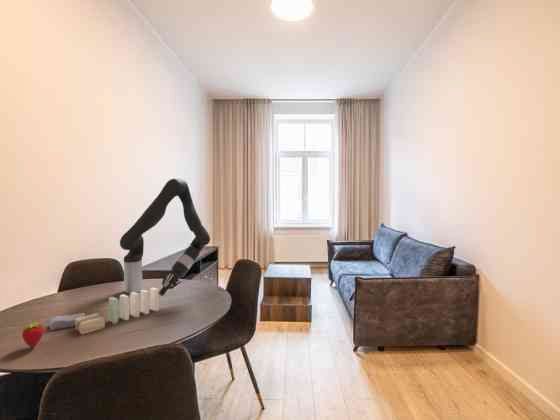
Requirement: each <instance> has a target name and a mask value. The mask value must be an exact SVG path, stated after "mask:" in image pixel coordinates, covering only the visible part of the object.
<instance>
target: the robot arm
mask: <svg viewBox="0 0 560 420" xmlns="http://www.w3.org/2000/svg"><path fill="white" fill-rule="evenodd" d="M190 191H191V190H190V187H189V185H188V182H187V181H186V180H184V179H183V178H171V179H169V180H167V182H166V183H165V184H164V186H163V187H162V189H161V190H160V192H159V194H158V195H157V196H156V198H155V199H154V200H153V201H152V202H151V203H150V205H148V207H147V208H146V209H145V210H144V212H143V213H142V214H141V215H140V217H139V218H138V219H137V221H136V222H134V224H133V225H132V226H131V227H130V228H129V229H128V230H127V231H126V232H125V233H124V234H123V235H122V236H121V238H120V240H119V245H120V247H121V249H122V250H125V251H128V253H126V255H125V256H123V279H124V280H123V281H124V283H123V285H124V286H123V288H124V290H123V291H124V293H125V294H130V293H131V292H136V293H139V292H140V290H143V257H144V249H145V248H144V247H145V246H144V237H143V234H145V233H146V232H148V231H149V230H151V229H152V228H154V227H155V226H156V225H157V224H158V223H159V222H160V221H161V220H162V219H163V218H164V216H165V214H166V212H167V207H168V205H169V204H170V202H171V201H172V200H173V199H174V198H175V197H178V198H179V200H180V202H181V204H182V209H183V217H184V220H185V222H186V225H187V226H188V229H189V231H190V232H192V233H193V234H194V236H195V237H194V239H192V240H191V242H190V244H189V246H188V247H187V248H186V249H185V250H184V252H183V253H182V254H181V255H180V256H179V258H177V260H176V262H174V263H173V265H172V266H171V268H170V269H171V271H170V272H169V273H168V275H163V278H162V283H161V285H162V287H161V289H160V290H158V295H160V296H162V297H163V296H164V295H166V293H167V291H169V290H172V289H174V288H175V287H177V286H178V285H180V284H181V283H182V281H181V278H183V277H185V275H186V274H187V273H188V272H189V270H190V269H191V267H192V266H193V265H194V263H195V261H196V260H197V258H198V257H199V255H200V253H201V251H202V250H203V249H204V248H205V246H207V245H209V244H210V240H211V238H210V233H209V232H208V231H207V229H206V228H205V226H204V225H203V224H202V221H201V219H200V217H199V214H198V213H197V210H196V208H195V205H194V202H193V198H192V194H191V192H190Z"/></svg>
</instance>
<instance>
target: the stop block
mask: <svg viewBox="0 0 560 420" xmlns="http://www.w3.org/2000/svg"><path fill="white" fill-rule="evenodd" d="M105 320H106V319H105V317H104V316H102V315H101V314H99V313H93V314H90V315H85V317H81V318H77V319H75V327H74V328H75V330H76V331H77V330H78V331H79V332H78V331H77V332H78V333H80V334H81V335H84V334H88V333H92V332H95V331H99V330H101V329H105V327H106V325H105V324H106V321H105Z"/></svg>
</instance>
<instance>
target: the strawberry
mask: <svg viewBox="0 0 560 420" xmlns="http://www.w3.org/2000/svg"><path fill="white" fill-rule="evenodd" d="M35 321H36V319H34V321H32V322H31V323H30V324H26V325H25V326H24V329H23V331H22V333H21V337H22V339H23V341H24V343H26V345H27V346H29V348H31V347H34V348H35V347H36V346H37V344H38V343H39V342H40V340H42V338H43V336H44V331H45V329H44V326H43V325H42V323H38V322H35Z"/></svg>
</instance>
